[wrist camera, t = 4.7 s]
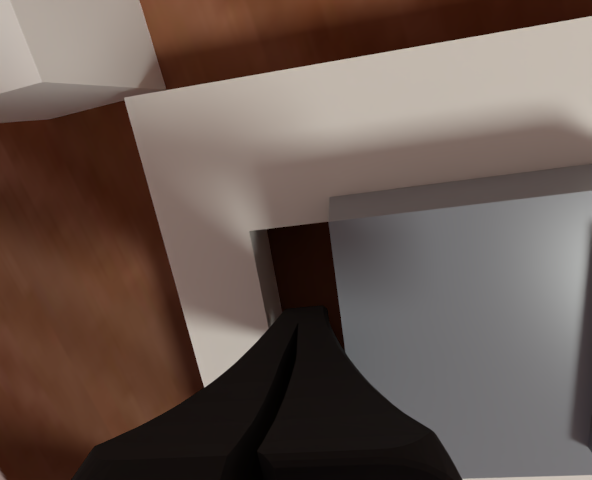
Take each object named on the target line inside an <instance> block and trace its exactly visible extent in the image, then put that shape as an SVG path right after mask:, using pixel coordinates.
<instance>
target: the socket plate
mask: <svg viewBox="0 0 592 480" xmlns="http://www.w3.org/2000/svg"><path fill="white" fill-rule="evenodd" d="M124 100H125V104H126V108H127V111H128V115H129V119H130V122H131V126H132V129H133V133H134V137H135V140H136V144H137V147H138V151H139V155H140V158H141V162H142V165H143V169H144V173H145V176H146V180H147V183H148V187H149V191H150V194H151V198H152V201H153V205H154V209H155V212H156V216H157V220H158V223H159V227H160V230H161V234H162V238H163V241H164V245H165V248H166V252H167V256H168V259H169V263H170V266H171V270H172V274H173V277H174V281H175V284H176V288H177V292H178V295H179V299H180V302H181V306H182V310H183V313H184V317H185V321H186V324H187V328H188V331H189V335H190V339H191V342H192V346H193V349H194V353H195V357H196V360H197V364H198V367H199V371H200V375H201V378H202V382H203V385H204V387H206V386H207V385H209V384H210V383H212V382H213V381H214V380H215V379H217V378H218V377H219V376H220V375H222V374H223V373H224V372H225V371H227V370H228V369H229V368H230V367H231V366H232V365H234V364H235V363H236V362H237V361H238V360H239V359H240V358H241V357H242V356H243V355H244V354H245V353H246V352H247V351H248V350H249V349H250V348H251V347H252V346H253V345H254V344H255V343H256V342H257V341H258V340H259V339H260V338H261V336H262V335H263V334H264V333H265V332H266V331H267V330H268V329H269V327H270V326H271V325H272V324H273V323H274V322H275V320H276V319H277V318H278V317H279V316H280V315H281V313H282V309H281V303H280V298H279V293H278V287H277V282H276V276H275V271H274V266H273V260H272V255H271V249H270V244H269V238H268V233H267V229H270V228H279V227H287V226H296V225H304V224H313V223H321V222H328V218H329V198H330V197H334V196H342V195H350V194H358V193H366V192H373V191H381V190H389V189H397V188H405V187H413V186H421V185H428V184H436V183H444V182H452V181H460V180H468V179H476V178H484V177H491V176H499V175H507V174H515V173H523V172H531V171H539V170H546V169H554V168H562V167H570V166H578V165H586V164H592V16H590V17H584V18H578V19H572V20H567V21H561V22H555V23H549V24H544V25H538V26H532V27H527V28H521V29H515V30H509V31H504V32H498V33H492V34H486V35H481V36H475V37H469V38H463V39H458V40H452V41H446V42H440V43H435V44H429V45H423V46H417V47H412V48H406V49H400V50H395V51H389V52H383V53H377V54H372V55H366V56H360V57H354V58H349V59H343V60H337V61H331V62H326V63H320V64H314V65H308V66H303V67H297V68H291V69H285V70H280V71H274V72H268V73H263V74H257V75H251V76H245V77H240V78H234V79H228V80H222V81H217V82H211V83H205V84H199V85H194V86H188V87H182V88H176V89H171V90H165V91H159V92H153V93H148V94H142V95H136V96H131V97H125V98H124ZM462 480H592V475H576V476H540V477H505V478H469V479H462Z"/></svg>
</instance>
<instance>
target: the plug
mask: <svg viewBox="0 0 592 480" xmlns="http://www.w3.org/2000/svg"><path fill="white" fill-rule="evenodd" d="M163 90H167V89H166V86H165V83H164V80H163V76H162V73H161V70H160V67H159V63H158V60H157V57H156V53H155V50H154V47H153V44H152V40H151V37H150V34H149V30H148V27H147V24H146V21H145V17H144V14H143V11H142V8H141V4H140V1H139V0H0V123H6V122H20V121H34V120H49V119H53V118H57V117H61V116H65V115H69V114H73V113H77V112H80V111H84V110H88V109H92V108H96V107H100V106H104V105H108V104H112V103H116V102H120V101H124V98H125V97H131V96H136V95H142V94H148V93H153V92H159V91H163Z"/></svg>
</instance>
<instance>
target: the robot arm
mask: <svg viewBox="0 0 592 480" xmlns="http://www.w3.org/2000/svg"><path fill="white" fill-rule="evenodd" d="M71 480H462V478H461V476H460V474H459V472H458V470H457V468H456V466H455V464H454V463H453V461H452V459H451V457H450V456H449V454H448V452H447V451H446V449H445V448H444V446H443V444H442V443H441V441H440V440H439V438H438V437H437V435H436V434H435V432H434V431H432V430H431V429H429V428H428V427H426V426H424V425H423V424H421V423H419V422H418V421H416V420H415V419H413V418H411V417H410V416H408V415H407V414H405V413H404V412H402V411H401V410H400V409H398V408H397V407H396V406H394V405H393V404H392V403H391V402H390V401H389V400H388V399H386V398H385V397H384V396H383V395H382V394H381V393H380V392H379V391H378V390H376V389H375V388H374V387H373V386H372V385H371V384H370V383H369V382H368V381H367V379H366V378H365V377H364V376H363V375H362V374H361V373H360V372H359V370H358V369H357V368H356V367H355V365H354V364H353V363H352V361H351V360H350V359H349V357H348V356H347V354H346V353H345V351H344V350H343V348H342V347H341V345H340V343H339V341H338V340H337V338H336V336H335V334H334V332H333V330H332V328H331V325H330V322H329V317H328V310H327V308H326V307H325V306H323V305H322V306H311V307H300V308H289V309H285V310H284V311H283V312H282V313H281V315H280V316H279V317H278V318H277V319H276V320H275V322H274V323H273V324H272V325H271V326H270V327H269V329H268V330H267V331H266V332H265V333H264V334H263V335H262V336H261V338H260V339H259V340H258V341H257V342H256V343H255V344H254V345H253V346H252V347H251V348H250V349H249V350H248V351H247V352H246V353H245V354H244V355H243V356H242V357H241V358H240V359H239V360H238V361H237V362H236V363H235V364H234V365H232V366H231V367H230V368H229V369H228V370H227V371H225V372H224V373H223V374H222V375H220V376H219V377H218V378H217V379H215V380H214V381H213V382H212V383H210V384H209V385H207V386H206V387H204V388H203V389H202V390H200V391H199V392H197V393H196V394H194V395H193V396H191V397H190V398H188V399H187V400H185V401H184V402H182V403H181V404H179V405H177V406H176V407H174V408H172V409H170V410H169V411H167V412H165V413H164V414H162V415H160V416H158V417H156V418H154V419H152V420H150V421H149V422H147V423H145V424H143V425H141V426H139V427H137V428H135V429H132V430H130V431H128V432H126V433H124V434H121V435H119V436H117V437H115V438H113V439H110V440H108V441H106V442H104V443H101V444H99V445H96V446H95V447H94V448H93V449H92V451H91V452H90V453H89V455H88V456H87V458H86V459H85V461H84V462H83V463H82V465H81V466H80V468H79V469H78V471H77V472H76V474H75V475H74V476H73V478H72V479H71Z"/></svg>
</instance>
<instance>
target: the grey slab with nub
mask: <svg viewBox="0 0 592 480" xmlns="http://www.w3.org/2000/svg"><path fill="white" fill-rule="evenodd" d="M328 223H329V231H330V238H331V246H332V254H333V261H334V269H335V277H336V284H337V292H338V300H339V307H340V315H341V322H342V330H343V338H344V345H345V353H346V354H347V356H348V357H349V359H350V360H351V361H352V363H353V364H354V365H355V367H356V368H357V369H358V370H359V372H360V373H361V374H362V375H363V376H364V377H365V378H366V379H367V381H368V382H369V383H370V384H371V385H372V386H373V387H374V388H375V389H376V390H378V391H379V392H380V393H381V394H382V395H383V396H384V397H385V398H386V399H388V400H389V401H390V402H391V403H392V404H393V405H394V406H396V407H397V408H398V409H400V410H401V411H402V412H404V413H405V414H407V415H408V416H410V417H411V418H413V419H415V420H416V421H418V422H419V423H421V424H423V425H424V426H426V427H428V428H429V429H431V430H432V431H434V432H435V434H436V435H437V437H438V438H439V440H440V441H441V443H442V444H443V446H444V448H445V449H446V451H447V452H448V454H449V456H450V457H451V459H452V461H453V463H454V464H455V466H456V468H457V470H458V472H459V474H460V476H461V478H462V479H469V478H505V477H540V476H576V475H592V164H586V165H578V166H570V167H562V168H554V169H546V170H539V171H531V172H523V173H515V174H507V175H499V176H491V177H484V178H476V179H468V180H460V181H452V182H444V183H436V184H428V185H421V186H413V187H405V188H397V189H389V190H381V191H373V192H366V193H358V194H350V195H342V196H334V197H330V198H329V218H328Z"/></svg>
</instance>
